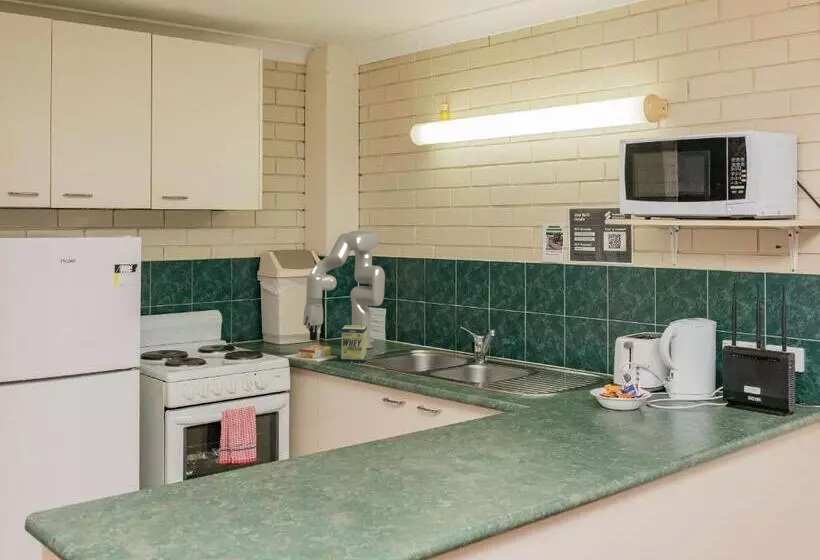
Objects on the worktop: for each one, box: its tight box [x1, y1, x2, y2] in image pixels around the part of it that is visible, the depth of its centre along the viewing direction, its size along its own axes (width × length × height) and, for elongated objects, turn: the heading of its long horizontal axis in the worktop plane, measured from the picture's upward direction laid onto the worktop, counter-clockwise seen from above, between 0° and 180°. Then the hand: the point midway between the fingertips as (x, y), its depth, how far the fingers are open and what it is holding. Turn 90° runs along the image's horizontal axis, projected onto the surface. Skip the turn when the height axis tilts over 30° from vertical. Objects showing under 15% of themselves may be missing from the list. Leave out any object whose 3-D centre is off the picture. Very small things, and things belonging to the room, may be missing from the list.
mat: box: [282, 352, 338, 363], centre depth 428 cm, size 16×20×1 cm
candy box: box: [298, 344, 332, 359], centre depth 429 cm, size 9×4×15 cm
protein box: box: [340, 324, 367, 363], centre depth 425 cm, size 10×16×16 cm
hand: (313, 340), depth 429 cm, fingers closed
